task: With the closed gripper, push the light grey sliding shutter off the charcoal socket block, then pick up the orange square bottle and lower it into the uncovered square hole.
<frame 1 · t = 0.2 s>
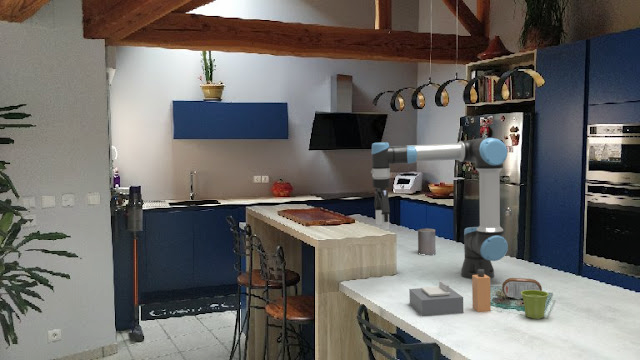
hand: (382, 227, 244), 28 cm above the kitchen island, tool pointing down, fingers open, 13 cm apart
socket: (435, 308, 218), on the kitchen island
plant pot: (534, 317, 204), on the kitchen island
orange square bottle: (481, 309, 214), on the kitchen island
pillar candle: (427, 254, 318), on the kitchen island
tin: (521, 299, 226), on the kitchen island
shutter: (435, 288, 218), point 8 cm above the kitchen island, slide at 0.0 cm
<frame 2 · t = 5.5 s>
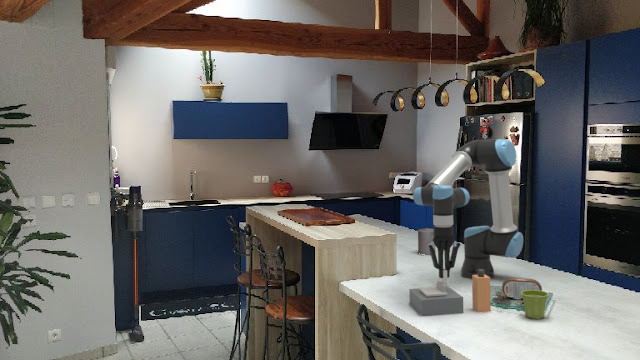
hand: (444, 285, 218), 9 cm above the kitchen island, tool pointing down, fingers closed
shutter: (432, 288, 217), point 8 cm above the kitchen island, slide at 1.1 cm, touching gripper
everything else where it was.
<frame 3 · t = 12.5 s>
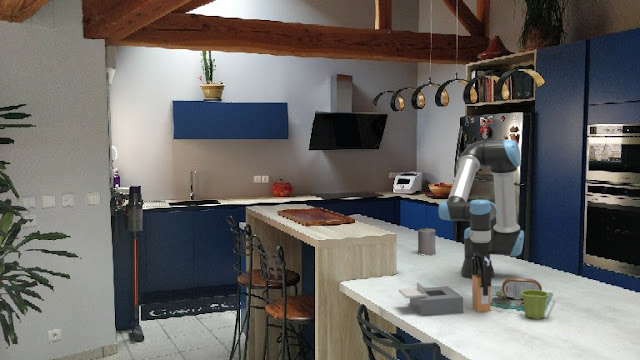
hand: (481, 301, 214), 3 cm above the kitchen island, tool pointing down, fingers closed on orange square bottle, 5 cm apart
orange square bottle: (481, 309, 214), on the kitchen island, touching gripper
shutter: (412, 289, 216), point 8 cm above the kitchen island, slide at 9.2 cm
everything else where it was.
when the fingers open (7 cm above the kitchen island, at t = 18.3 s): orange square bottle drops 2 cm, resting on socket.
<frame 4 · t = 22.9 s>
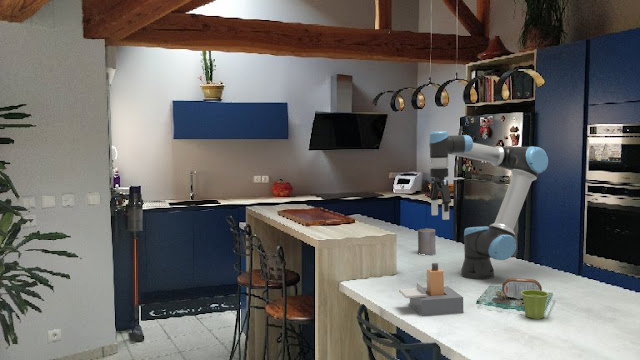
hand: (440, 217, 241), 32 cm above the kitchen island, tool pointing down, fingers open, 13 cm apart
orange square bottle: (435, 303, 218), point 2 cm above the kitchen island, touching socket
everything else where it was.
at the end: shutter slide at 9.2 cm; orange square bottle 0.0 cm off-centre on the socket, point 2.0 cm above the socket's base; orange square bottle tilted 0° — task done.
